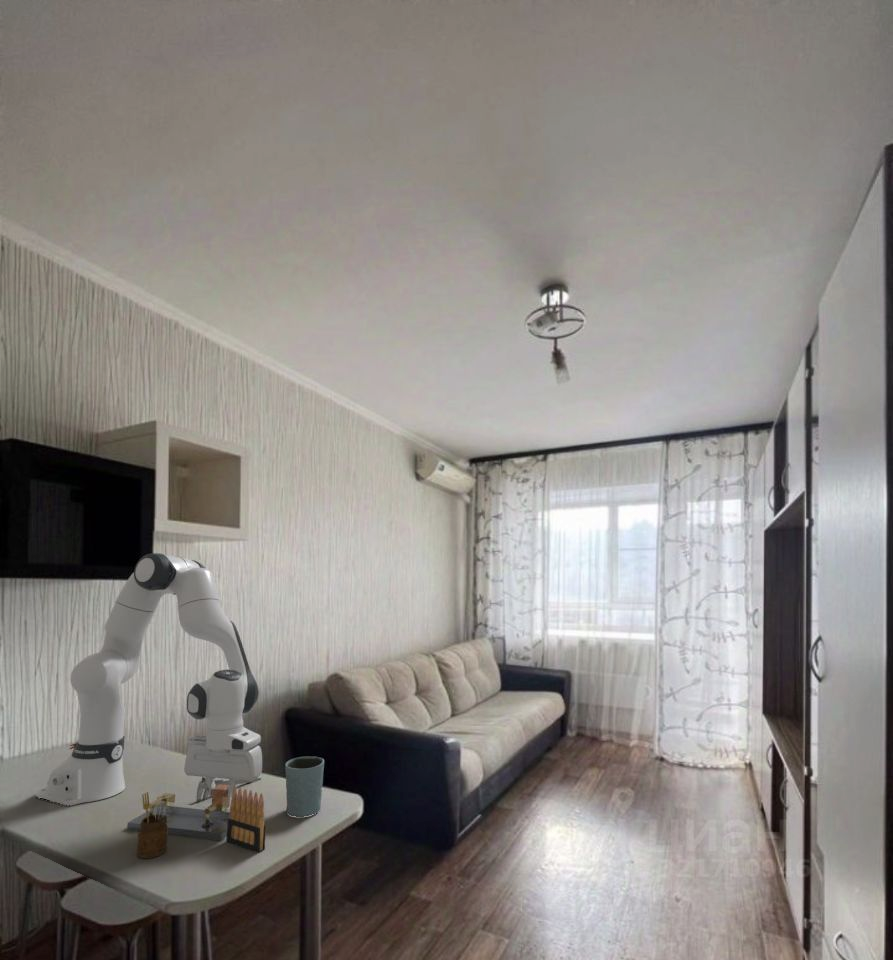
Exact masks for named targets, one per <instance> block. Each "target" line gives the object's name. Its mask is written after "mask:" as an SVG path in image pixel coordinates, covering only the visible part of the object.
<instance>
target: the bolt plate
mask: <svg viewBox="0 0 893 960" xmlns="http://www.w3.org/2000/svg"><path fill="white" fill-rule="evenodd" d="M159 801H160V802H161V801H165V802H166V803H165V802H164V803H163V802H162V803H160V802H159ZM158 802H159V803H160V804H159V803H158ZM157 803H158V805H156V804H157ZM149 804H150V806H149V808H148V816H151V815H155V814H165V816H166V817H167V822H166V825H167V827H168V835H170V834H173V835H172V836H180V837H189V838H196V839H197V838H198V839H205V840H212V841H223V840H224V839H225V837H226V838H227V826H228V818H229V819H230V808H229V809H228V808H227V809H225V810H224V811H222V812H220V811H212V812H211V813H210V816H209V823H208V824H206V814H205V813H204V812H205V808H207V807H208V806H201V805H193V804H191V805H190V804H183V803H176V793H170V792H164V793H163V794H161V795H158V796H156V799H155V800H154V801H151V802H149ZM164 804H165V805H164ZM166 804H167V807H166ZM161 805H162V806H161ZM155 806H156V807H155ZM160 807H161V808H160ZM164 807H165V808H164ZM156 808H157V809H156ZM164 809H165V810H164ZM154 810H155V811H154ZM156 810H157V811H156ZM160 810H161V811H160ZM163 811H164V812H163ZM165 811H166V812H165ZM159 812H160V813H159ZM146 817H147V816H146V811H145V812H143V813H142V814H140V815H139V816H137V817H134V818H133V819H131V820H130V821H128V822H127V828H126V829H127V830H129V829H134V830H133V831H137V830H140V829H141V822H142V820H143V819H144V818H146Z"/></svg>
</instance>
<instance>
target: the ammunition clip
mask: <svg viewBox="0 0 893 960" xmlns="http://www.w3.org/2000/svg"><path fill="white" fill-rule="evenodd" d="M230 800H231V801H230V804H229V809H230V819H229V818H228V826H227V837H226V841H225V842H226V843H228V844H230V845H234V846H236V847H239V848H243V849H245V850H248V849H249V851H251V850H252V851H251V852H254V851H255V852H254V853H257V852H258V853H257V854H259V853H261V852H262V851H264V850H265V849H266V824H265V807H264V806H265V805H264V804H265V800H264V795H263V793H262V792H260V795H258V792H257V791H255V792H254V794H253V791H252V790H251V789H250V790H249V792H248V791H247V788H245V789H244V790H243V791H242V787H239V788H238V790H237V785H236V786H234V788H233V792H232V797H231V798H230Z"/></svg>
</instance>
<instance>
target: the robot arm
mask: <svg viewBox="0 0 893 960" xmlns="http://www.w3.org/2000/svg"><path fill="white" fill-rule="evenodd" d="M166 594H168V595H169V594H172V595H174V596H175V595H176V598H177V611H178V612H177V613H178V619H179V623H180V626H181V628H182V629H183V631H184V632H185V633H187V635H189V636H191V637H192V638H195V639H199V640H202V641H206V642H210V643H212V644H215V645H216V646H218V647H219V648H220V649H221V650H222V651H223V654H224V656H225V660H226V663H227V667H228V669H221V670H217V671H215V672H214V673H212V674H211V677H210V678H208V679H207V680H203V681H200V682H198V683H195V684H194V685H193V686H192V687H191V688H190V690H189V692H188V693H187V696H186V711H187V713H188V714H189V715H190V716H191V717H192V718H194V719H195V720H202V721H203V720H207V724H206V727H205V728H206V730H205V735H203V736H200V735H193V737H191V738H190V739H189V740H188V742H187V752H186V756H185V759H184V767H183V771H184V773H185V775H186V776H189V777H191V776H192V777H205V778H206V783H207V786H208V788H209V795H208V797H209V796H210V797H212V791H213V788H215V787H217V786H216V785H215V782H214V779H223V780H227V779H229V783H231V785H230V787H229V788H228V789H226V790H225V797H229V798H230V799H232V792H233V788H234V786H236V787H237V785H238V784H237V783H238V781H239V780H247V781H253V780H255V779H256V778H258V777H259V778H260V775H261V774H262V771H263V753H262V747H261V746H260V745H259V744H260V743H261V742H262V741H261V740H262V737H261V735H260V734H259V733H256V732H254V731H252V730H250V729H249V728H246V727H245V726H244V719H243V718H244V717H243V714H247V713H249V712H250V711H251V710H252V708H254V706H255V705H256V703H257V702H258V700H259V695H260V694H259V693H260V692H259V686H258V683H257V681H256V679H255V677H254V675H253V673H252V671H251V667H250V665H249V661H248V659H247V655H246V652H245V648H244V646H243V643H242V639H241V636H240V634H239V632H238V628H237V625H236V624H235V623H234V622H233V621H231V620H230V619H229V618H228V617H227V615H226V614H225V613H224V611H223V609H222V605H221V599H220V594H219V589H218V585H217V583H216V580H215V577H214V574H213V573H212V571H211V570H209V569H207V568H206V567H205V566H204V565H203V564H202V563H200V562H199V561H196V560H194V559H192V560H191V559H189V558H186V557H183V556H179V555H171V554H169V555H168V554H164V553H160V552H159V553H158V552H157V553H156V552H154V553H153V552H152V553H147V554H145V555H143V556H142V557H141V558H139V560H138V561H137V562H136V565H135V567H134V571H133V572H132V573H131V575H130V576H129V577H128V579H127V580H126V582H125V584H124V586H122V588H121V590H120V592H119V593H118V596H117V598H116V600H115V602H114V605H113V607H112V609H111V611H110V613H109V615H108V618H107V620H106V622H105V625H104V630H105V636H104V641H103V645H102V647H101V649H100V650H99V652H97V653H94V654H90V655H88V656H86V657H84V659H82V660H81V661H80V662H78V663H77V664H76V665H75V666H74V667H73V669H72V670H71V673H70V684H71V687H72V688H73V689H74V690H75V692H76V694H77V698H78V704H79V705H78V706H79V712H80V715H79V716H80V717H79V729H78V740H77V742H75V743H73V744H70V745H69V747H70V748H68V749H69V750H72V749H73V750H72V751H71V756H69V757H68V758H67V759H66V760H64V761H63V762H62V763H60V764H58V766H56V767H55V768H54V769H53V770H52V771H51V773H50V774H49V776H48V779H47V786H46V787H43V788H42V789H40V790H39V791H37V792H36V794H35V797H36V796H38V797H42V798H45V799H47V800H50V801H49V802H51V801H53V802H52V803H54V802H57V803H56V804H58V803H60V804H59V805H62V804H63V806H66V805H67V807H68V806H69V805H70V806H74V805H79V804H83V803H90V802H96V801H100V800H103V799H108V798H110V797H113V796H115V795H118V794H120V793H122V792H123V791H124V790H125V789H126V783H125V776H124V761H123V758H124V756H123V753H124V750H125V742H126V741H125V736H124V729H125V719H126V708H125V705H124V704H123V702H122V696H121V689H120V688H121V685H122V684H124V683H126V682H127V681H129V680H130V679H131V678H132V677H133V676H134V675H135V673H136V672H137V671H138V670H139V667H140V661H141V660H140V656H141V651H142V648H143V647H142V645H143V642H144V638H145V636H146V634H147V630H148V628H149V626H150V624H151V622H152V619H153V616H154V614H155V612H156V609H157V608H158V605H159V602H160V600H161V599H162V597H163V596H164V595H166ZM47 800H46V801H47ZM70 806H69V807H70Z"/></svg>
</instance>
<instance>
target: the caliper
mask: <svg viewBox="0 0 893 960" xmlns="http://www.w3.org/2000/svg"><path fill="white" fill-rule="evenodd" d="M260 780H262V777H260V776H259V777H258V778H256V779H255V780H253V781H247V780H239V781H238V783H237V785H241V784H249V783H251V784H252V783H254V782H257V781H260ZM214 782H215V785H216V786H218V785H220V784H221V785H231V783H229V779H224V778H215V779H214ZM208 797H209V788H208V786H207V783H206V777H202V778H201V780H200V781H199V782H198V786H197V788H196V801H197V802H198V803H201V800H202V801H206V800H207V799H208Z"/></svg>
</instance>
